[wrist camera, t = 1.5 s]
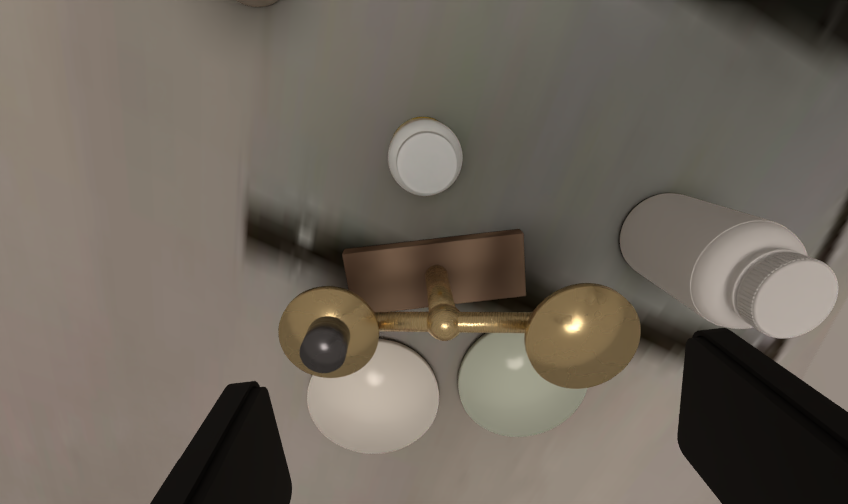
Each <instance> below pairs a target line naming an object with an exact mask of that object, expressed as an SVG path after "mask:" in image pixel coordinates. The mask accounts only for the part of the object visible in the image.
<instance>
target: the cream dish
mask: <svg viewBox="0 0 848 504" xmlns="http://www.w3.org/2000/svg"><path fill="white" fill-rule="evenodd" d="M307 403H308V409H309V412H310V415H311V417H312V419H313V421H314V423H315V425H316V426H317V428H318V429H319V430H320V431H321V432H322V433H323V434H324V435H325V436H326V437H327V438H328V439H329V440H331V441H332V442H334V443H335V444H337V445H339V446H341V447H343V448H346V449H349V450H352V451H355V452H360V453H369V454H378V453H387V452H392V451H396V450H399V449H401V448H404V447H406V446H408V445H410V444H412V443H413V442H415V441H416V440H418V439H419V438H420V437H421V436H422V435H423V434H424V433H425V432H426V431H427V430H428V429H429V427H430V426H431V424H432V423H433V421H434V419H435V417H436V414H437V410H438V406H439V390H438V384H437V380H436V377H435V375H434V373H433V371H432V369H431V367H430V366H429V364H428V363H427V362H426V361H425V360H424V359H423V358H422V357H421V356H420V355H419V354H418V353H417V352H415V351H414V350H412V349H411V348H409V347H407V346H405V345H403V344H400V343H398V342H394V341H391V340H385V339H379V340H378V345H377V348H376V351H375V353H374V355H373V357H372V358H371V360H370V361H369V362H368V363H367V364H366V365H365V366H364V367H363V368H361V369H360V370H358V371H357V372H355V373H353V374H350V375H347V376H344V377H339V378H323V377H318V376H314V375H312V378H311V381H310V384H309V387H308V393H307Z"/></svg>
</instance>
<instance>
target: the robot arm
mask: <svg viewBox="0 0 848 504" xmlns="http://www.w3.org/2000/svg"><path fill="white" fill-rule="evenodd" d="M677 436H678V444H679V447H680V449H681V451H682V453H683V455H684V456H685V457H686V459H687V460H688V461H689V462H690V464H691V465H692V466H693V468H694V469H695V470H696V471H697V473H698V474H699V475H700V476H701V478H702V479H703V480H704V481H705V483H706V484H707V485H708V486H709V488H710V489H711V490H712V492H713V493H714V494H715V495H716V497H717V498H718V499H719V500H720V502H721V503H722V504H848V412H847V411H845V410H844V409H842V408H841V407H840V406H838V405H837V404H835V403H834V402H832V401H831V400H829V399H828V398H827V397H825V396H824V395H822V394H821V393H819V392H818V391H816V390H815V389H814V388H812V387H811V386H809V385H808V384H806V383H805V382H804V381H802V380H801V379H799V378H798V377H796V376H795V375H794V374H792V373H791V372H789V371H788V370H786V369H785V368H783V367H782V366H781V365H779V364H778V363H776V362H775V361H773V360H772V359H770V358H769V357H768V356H766V355H765V354H763V353H762V352H760V351H759V350H758V349H756V348H755V347H753V346H752V345H750V344H749V343H747V342H746V341H745V340H743V339H742V338H740V337H739V336H737V335H736V334H735V333H733V332H732V331H730V330H728V329H726V328H718V329H709V330H700V331H697V332H695V333H694V335H693V337H692V338H690V339H688V341H687V342H686V349H685V360H684V370H683V381H682V392H681V403H680V414H679V425H678V435H677ZM291 494H292V483H291V478H290V474H289V470H288V466H287V462H286V458H285V455H284V451H283V447H282V443H281V439H280V435H279V431H278V428H277V424H276V420H275V416H274V412H273V408H272V404H271V400H270V397H269V393H268V390H267V388H266V387H260V386H259V384H258V383H257V382H256V381H251V382H243V383H234V384H229V385H227V387H226V388H225V389H224V391H223V392H222V394H221V395H220V397H219V399H218V400H217V402H216V403H215V405H214V406H213V408H212V409H211V411H210V413H209V414H208V416H207V417H206V419H205V420H204V422H203V423H202V425H201V427H200V428H199V430H198V431H197V433H196V434H195V436H194V437H193V439H192V441H191V442H190V444H189V445H188V447H187V448H186V450H185V451H184V453H183V454H182V456H181V458H180V459H179V460H178V461H177V463H176V464H175V466H174V468H173V469H172V471H171V472H170V474H169V475H168V477H167V478H166V480H165V482H164V483H163V485H162V486H161V488H160V489H159V491H158V492H157V494H156V495H155V497H154V499H153V500H152V502H151V503H150V504H289V503H290V500H291Z"/></svg>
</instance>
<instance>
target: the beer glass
mask: <svg viewBox="0 0 848 504" xmlns="http://www.w3.org/2000/svg"><path fill="white" fill-rule="evenodd" d="M236 1H237V2H239V3H241V4H243V5H246V6H250V7H265V6H269V5H271V4H274V3H275V2H277V1H278V0H236Z"/></svg>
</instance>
